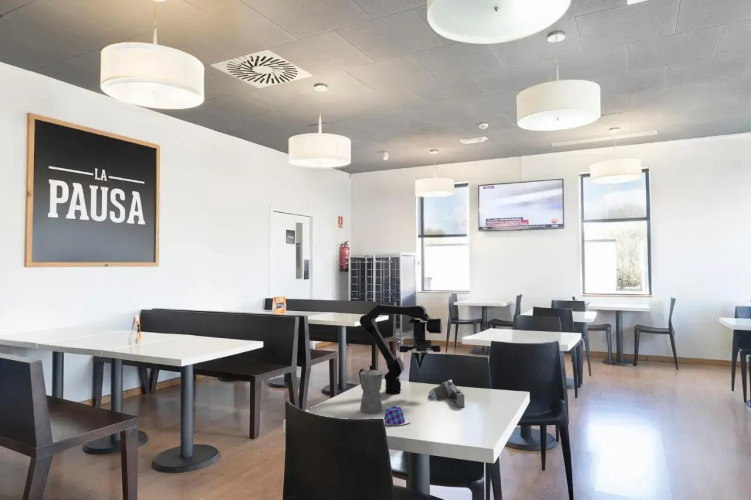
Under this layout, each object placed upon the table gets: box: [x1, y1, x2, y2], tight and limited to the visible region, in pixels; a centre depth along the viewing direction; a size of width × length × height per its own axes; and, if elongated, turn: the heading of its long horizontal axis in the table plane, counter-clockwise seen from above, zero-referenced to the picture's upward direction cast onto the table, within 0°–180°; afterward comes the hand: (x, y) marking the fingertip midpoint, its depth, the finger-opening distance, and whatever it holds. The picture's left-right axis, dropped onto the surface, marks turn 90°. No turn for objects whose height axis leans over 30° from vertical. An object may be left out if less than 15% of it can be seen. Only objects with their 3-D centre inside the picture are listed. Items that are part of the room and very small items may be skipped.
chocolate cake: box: [428, 381, 450, 400], centre depth 223 cm, size 10×7×12 cm
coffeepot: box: [358, 364, 384, 415], centre depth 202 cm, size 15×9×18 cm, turn 33°
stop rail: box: [444, 379, 465, 408], centre depth 219 cm, size 3×26×7 cm, turn 3°
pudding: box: [380, 405, 411, 426], centre depth 186 cm, size 12×12×5 cm
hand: (419, 367), depth 229 cm, fingers closed
